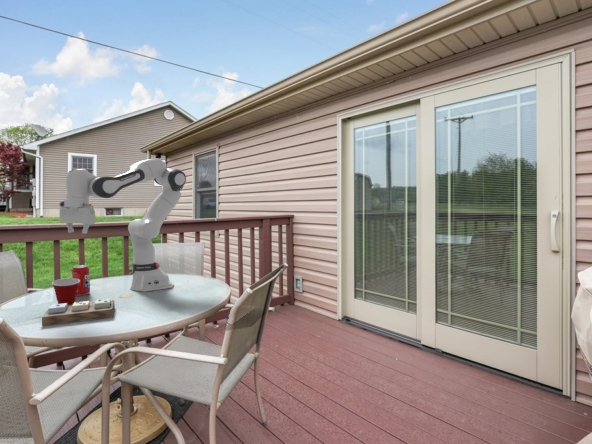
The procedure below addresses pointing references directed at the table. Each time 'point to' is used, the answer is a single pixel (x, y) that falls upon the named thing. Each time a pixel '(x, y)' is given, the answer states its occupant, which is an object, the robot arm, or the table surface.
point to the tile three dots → (80, 305)
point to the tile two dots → (103, 303)
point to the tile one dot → (57, 308)
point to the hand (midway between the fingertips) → (77, 232)
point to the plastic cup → (66, 290)
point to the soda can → (82, 279)
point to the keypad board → (78, 315)
